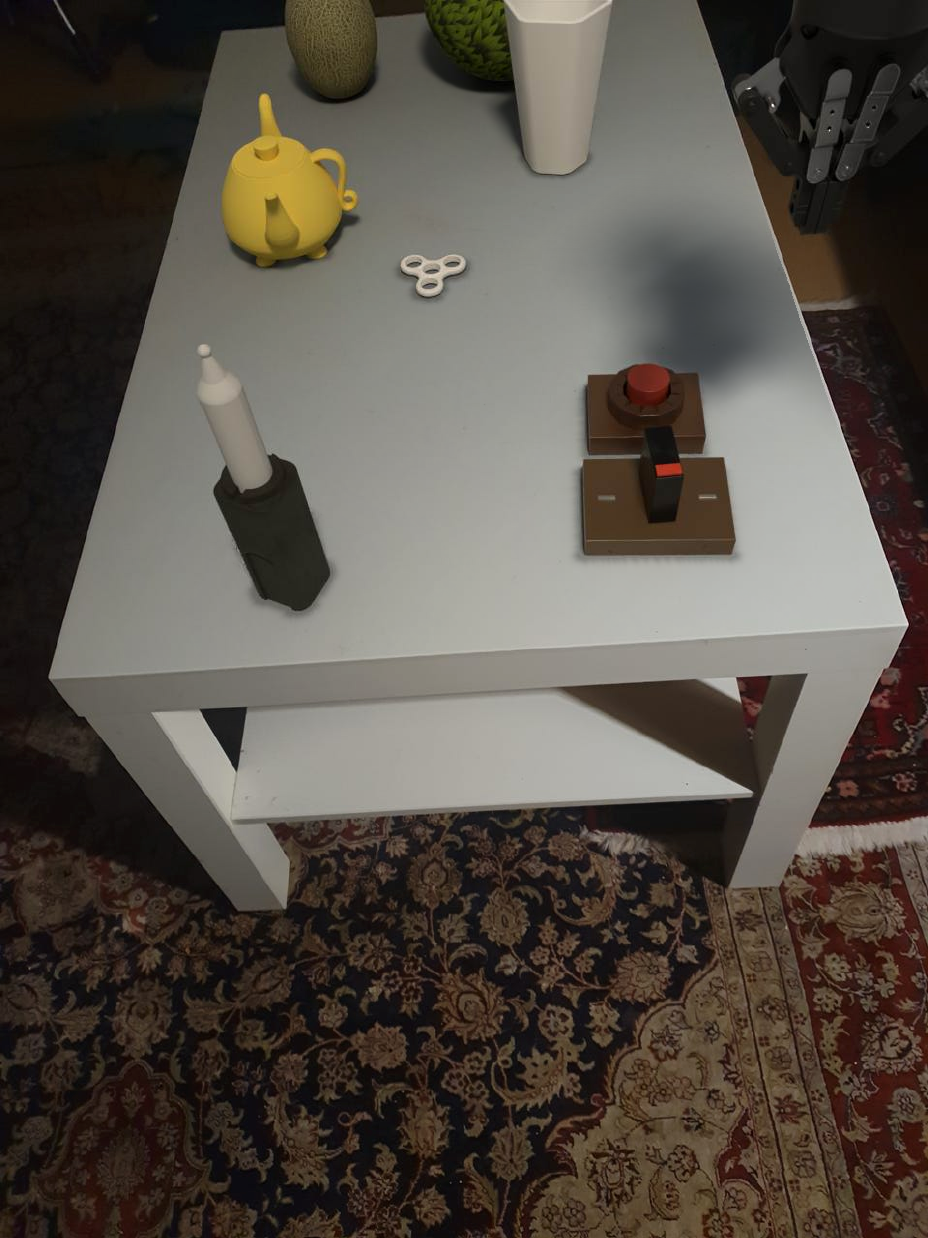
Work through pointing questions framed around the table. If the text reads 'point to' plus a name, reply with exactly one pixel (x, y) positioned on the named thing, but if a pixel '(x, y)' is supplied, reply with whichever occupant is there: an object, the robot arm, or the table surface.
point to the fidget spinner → (432, 278)
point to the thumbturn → (660, 474)
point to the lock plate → (623, 517)
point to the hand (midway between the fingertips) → (808, 226)
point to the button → (647, 384)
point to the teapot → (282, 195)
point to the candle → (261, 496)
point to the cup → (556, 76)
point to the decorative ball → (473, 35)
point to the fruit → (332, 43)
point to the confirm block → (643, 414)
